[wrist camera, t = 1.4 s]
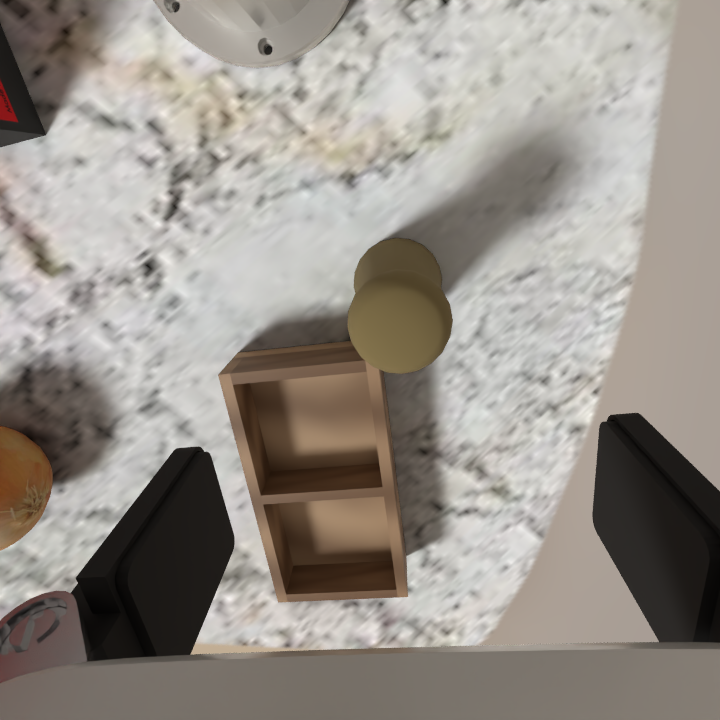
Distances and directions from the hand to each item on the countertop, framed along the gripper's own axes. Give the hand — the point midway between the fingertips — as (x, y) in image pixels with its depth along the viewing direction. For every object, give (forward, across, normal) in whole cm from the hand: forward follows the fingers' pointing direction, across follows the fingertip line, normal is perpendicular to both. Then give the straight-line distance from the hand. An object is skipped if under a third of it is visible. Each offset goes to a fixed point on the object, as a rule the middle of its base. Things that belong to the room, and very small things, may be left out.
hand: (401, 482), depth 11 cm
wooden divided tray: (+22, +7, +14) cm, 27 cm away
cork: (+22, 0, 0) cm, 22 cm away
